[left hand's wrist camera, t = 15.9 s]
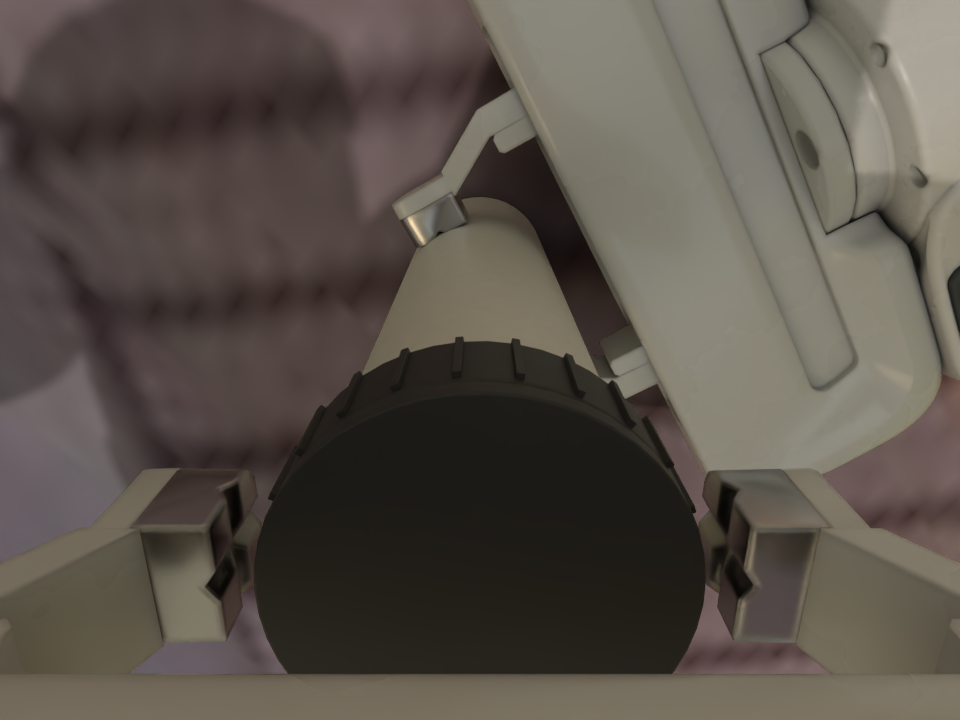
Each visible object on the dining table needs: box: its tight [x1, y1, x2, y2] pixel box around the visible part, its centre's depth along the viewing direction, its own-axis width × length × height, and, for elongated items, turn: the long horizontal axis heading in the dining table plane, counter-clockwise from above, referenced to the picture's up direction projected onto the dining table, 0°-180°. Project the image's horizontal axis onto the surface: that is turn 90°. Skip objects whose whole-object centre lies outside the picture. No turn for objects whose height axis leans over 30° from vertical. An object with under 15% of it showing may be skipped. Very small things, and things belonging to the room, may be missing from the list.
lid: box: [254, 336, 706, 674], centre depth 9 cm, size 6×6×2 cm
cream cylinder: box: [362, 197, 599, 377], centre depth 18 cm, size 5×5×19 cm
